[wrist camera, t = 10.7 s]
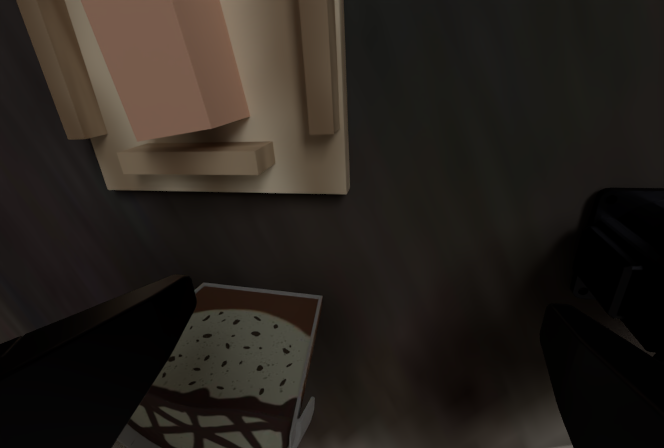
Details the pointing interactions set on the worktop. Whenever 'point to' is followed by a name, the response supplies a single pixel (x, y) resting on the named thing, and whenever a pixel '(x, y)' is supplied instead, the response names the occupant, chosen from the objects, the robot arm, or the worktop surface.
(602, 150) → the worktop surface
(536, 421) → the worktop surface
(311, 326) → the food container
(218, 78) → the pinkish brown block
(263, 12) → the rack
